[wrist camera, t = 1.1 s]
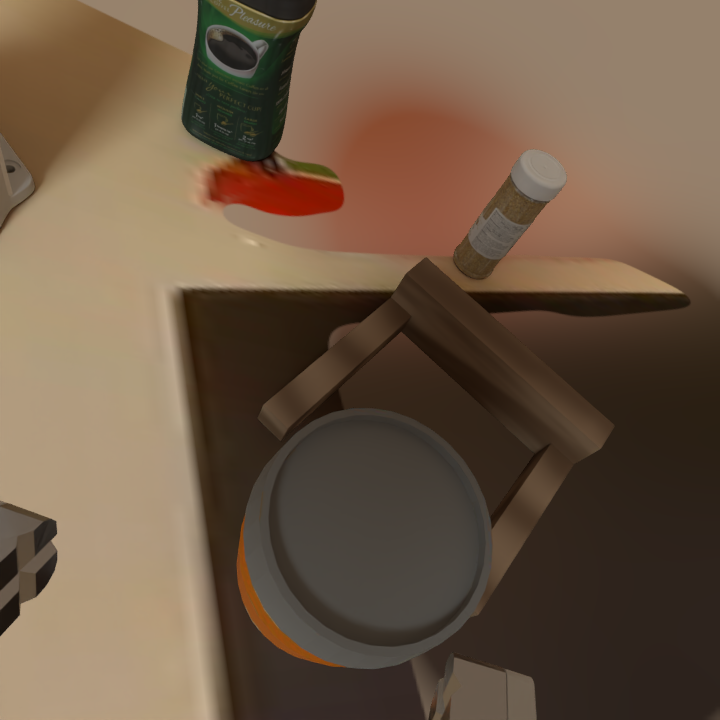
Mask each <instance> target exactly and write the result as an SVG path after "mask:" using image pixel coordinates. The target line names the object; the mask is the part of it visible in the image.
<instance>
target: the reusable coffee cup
mask: <svg viewBox="0 0 720 720" xmlns="http://www.w3.org/2000/svg"><path fill="white" fill-rule="evenodd" d="M492 552H493V539H492V528H491V520H490V517H489V513H488V509H487V505H486V501H485V498H484V496H483V494H482V492H481V490H480V487H479V485H478V483H477V480H476V478H475V477H474V475H473V474H472V472H471V471H470V469H469V468H468V466H467V464H466V463H465V461H464V460H463V459H462V458H461V456H460V455H459V454H458V453H457V452H456V451H455V450H454V449H453V448H452V446H451V445H450V444H449V443H448V442H446V441H445V440H444V439H443V438H442V437H440V436H439V435H438V434H436V433H435V432H434V431H433V430H432V429H430V428H428V427H426V426H425V425H423V424H421V423H419V422H418V421H416V420H414V419H412V418H409V417H407V416H404V415H401V414H399V413H396V412H393V411H387V410H381V409H375V408H351V409H346V410H342V411H337V412H332V413H330V414H327V415H325V416H323V417H321V418H318V419H316V420H314V421H312V422H311V423H309V424H308V425H307V426H305V427H304V428H302V429H301V430H300V431H298V432H297V433H296V434H295V435H294V436H293V437H292V438H291V439H290V440H289V441H288V442H287V443H286V444H285V445H284V446H283V447H282V448H281V449H280V450H279V451H278V452H277V453H276V454H275V455H274V457H273V458H272V459H271V460H270V461H269V462H268V463H267V464H266V466H265V467H264V469H263V470H262V472H261V474H260V476H259V477H258V479H257V481H256V483H255V484H254V486H253V489H252V492H251V495H250V498H249V501H248V504H247V507H246V514H245V517H244V520H243V523H242V527H241V535H240V542H239V550H238V558H237V575H238V585H239V589H240V592H241V596H242V600H243V603H244V605H245V608H246V610H247V612H248V614H249V616H250V618H251V620H252V621H253V623H254V624H255V625H256V626H257V628H258V629H259V630H260V631H261V632H262V634H263V635H264V636H265V637H266V638H268V639H269V640H270V641H271V642H272V643H273V644H275V645H276V646H277V647H278V648H280V649H282V650H284V651H285V652H287V653H289V654H291V655H293V656H295V657H298V658H302V659H305V660H309V661H312V662H316V663H320V664H325V665H329V666H335V667H348V668H362V669H378V668H383V667H388V666H394V665H399V664H401V663H403V662H405V661H408V660H410V659H412V658H414V657H416V656H419V655H421V654H423V653H424V652H426V651H428V650H430V649H431V648H433V647H435V646H437V645H439V644H441V643H442V642H443V641H445V640H446V639H447V638H448V637H450V636H451V635H452V634H454V633H455V632H456V631H458V630H459V629H460V628H461V627H462V625H463V624H464V623H465V622H466V621H467V619H468V618H469V617H470V616H471V615H472V613H473V612H474V611H475V609H476V607H477V605H478V603H479V601H480V599H481V597H482V595H483V593H484V591H485V588H486V585H487V581H488V578H489V574H490V570H491V564H492Z"/></svg>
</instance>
